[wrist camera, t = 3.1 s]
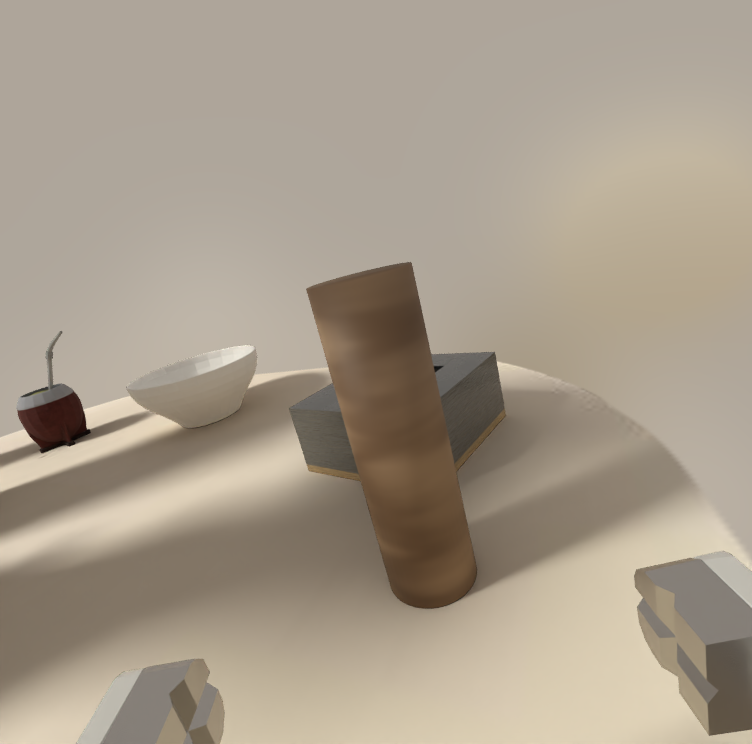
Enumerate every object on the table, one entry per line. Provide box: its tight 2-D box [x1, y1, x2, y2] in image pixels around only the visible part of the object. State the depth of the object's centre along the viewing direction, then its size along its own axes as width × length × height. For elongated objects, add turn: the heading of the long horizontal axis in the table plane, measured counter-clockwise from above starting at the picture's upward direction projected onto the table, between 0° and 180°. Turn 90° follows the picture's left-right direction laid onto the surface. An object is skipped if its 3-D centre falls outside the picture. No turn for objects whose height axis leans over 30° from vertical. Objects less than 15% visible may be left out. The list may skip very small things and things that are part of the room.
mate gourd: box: [17, 331, 91, 453], centre depth 61 cm, size 8×8×15 cm
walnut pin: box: [306, 262, 477, 608], centre depth 20 cm, size 4×4×15 cm
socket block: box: [289, 352, 506, 481], centre depth 36 cm, size 12×12×6 cm
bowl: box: [126, 345, 257, 428], centre depth 57 cm, size 16×16×7 cm
